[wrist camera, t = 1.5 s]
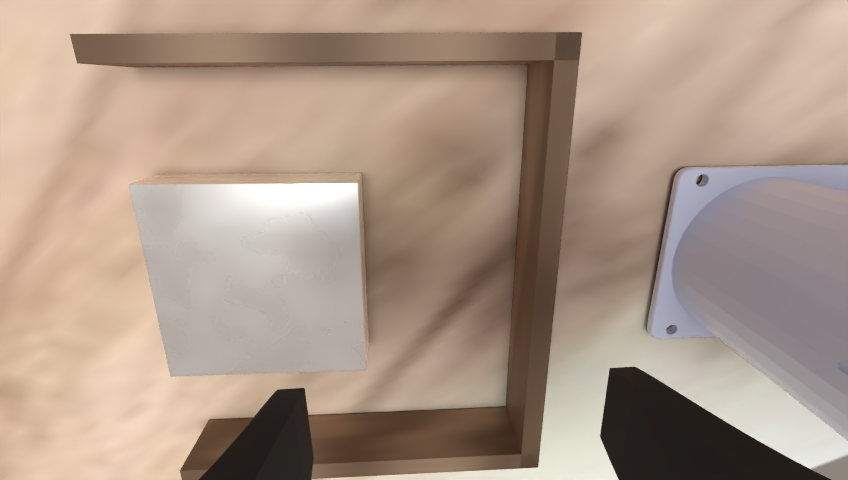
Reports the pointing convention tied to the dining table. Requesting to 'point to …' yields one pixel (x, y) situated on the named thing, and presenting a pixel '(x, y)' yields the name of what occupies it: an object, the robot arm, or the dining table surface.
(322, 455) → the brown u-shaped frame
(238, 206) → the cover plate
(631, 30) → the dining table surface
